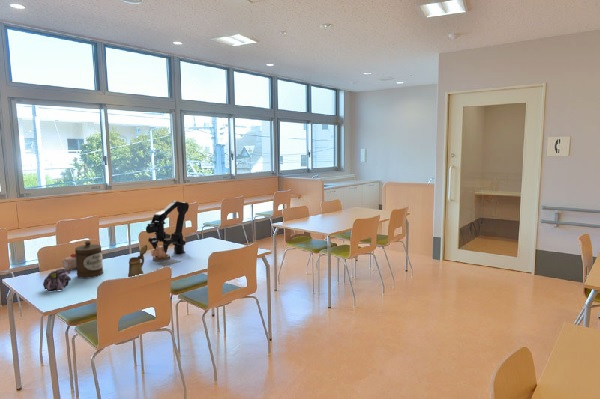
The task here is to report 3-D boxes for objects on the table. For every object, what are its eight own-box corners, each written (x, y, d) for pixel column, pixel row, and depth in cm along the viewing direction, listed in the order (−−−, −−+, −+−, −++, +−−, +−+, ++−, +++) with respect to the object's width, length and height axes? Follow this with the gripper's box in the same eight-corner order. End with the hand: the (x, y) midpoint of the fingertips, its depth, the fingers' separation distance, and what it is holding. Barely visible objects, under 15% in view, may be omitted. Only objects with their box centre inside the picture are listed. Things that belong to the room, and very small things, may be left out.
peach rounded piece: (161, 257, 296) (161, 245, 295) (168, 258, 293) (167, 246, 292) (149, 261, 286) (148, 249, 285) (156, 262, 283) (155, 250, 282)
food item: (66, 271, 264) (65, 257, 263) (62, 269, 269) (60, 255, 268) (88, 266, 274) (87, 252, 273) (83, 264, 280) (82, 250, 278)
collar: (163, 255, 300) (163, 253, 300) (173, 258, 293) (173, 255, 293) (149, 259, 291) (149, 256, 290) (159, 262, 284) (159, 259, 283)
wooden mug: (152, 272, 259) (150, 245, 257) (132, 278, 249) (131, 250, 246) (144, 270, 265) (143, 243, 262) (125, 275, 254) (123, 248, 252)
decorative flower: (33, 276, 225) (56, 261, 237) (36, 291, 230) (59, 276, 243) (53, 285, 221) (75, 270, 234) (56, 300, 227) (78, 285, 239)
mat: (172, 259, 290) (172, 259, 290) (180, 261, 284) (180, 261, 284) (157, 263, 279) (157, 263, 279) (165, 266, 274) (165, 265, 274)
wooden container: (89, 279, 248) (86, 244, 245) (71, 276, 253) (68, 242, 250) (108, 272, 262) (105, 239, 259) (91, 270, 267) (88, 237, 264)
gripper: (177, 229, 292) (178, 250, 294) (158, 227, 300) (160, 248, 302) (166, 232, 282) (167, 254, 284) (147, 230, 290) (148, 251, 292)
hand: (161, 251), depth 291 cm, fingers open, 9 cm apart
